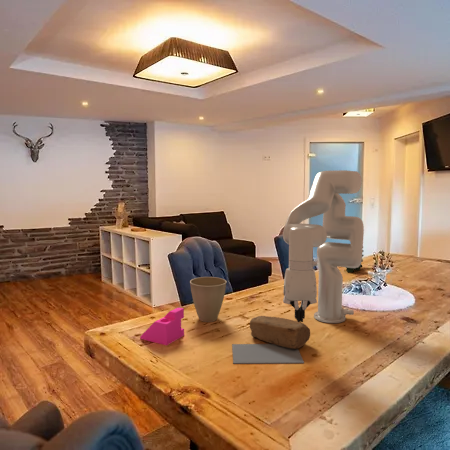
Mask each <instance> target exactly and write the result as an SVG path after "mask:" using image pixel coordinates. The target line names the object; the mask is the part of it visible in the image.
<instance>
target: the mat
mask: <svg viewBox="0 0 450 450" xmlns="http://www.w3.org/2000/svg"><path fill="white" fill-rule="evenodd" d="M231 347H232V364H233V365H239V364H240V365H241V364H244V365H247V364H251V365H252V364H255V365H257V364H259V365H260V364H261V365H262V364H269V365H270V364H272V365H273V364H274V365H275V364H305V360H303V356H302V355H301V353H300V350H299V348H296V349H291V348H287V347H282V346H279V345H275V344H272V343H232V344H231Z"/></svg>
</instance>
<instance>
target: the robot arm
mask: <svg viewBox="0 0 450 450" xmlns="http://www.w3.org/2000/svg"><path fill="white" fill-rule="evenodd" d="M362 182H363V180H362V176H361V174H360V173H359V171H356V170H347V169H346V170H344V169H343V170H341V169H339V170H322V171H320V172H318V173H317V174H316V175H315V176H314V179H313V182H312V184H311V187H310V191H309V194H308V196H307V199H306V200H304V201H303V202H300V204H298V205H297V206H296V207H294V208H293V209H292V210H291V211H290V213H289V214H288V216H287V218H286V222H285V225H284V227H283V232H282V238H283V241H284V242H285V243H286V244H287V245H288V268H286V269H285V273H284V280H283V299H282V301H283V303H284V304H285V305H286V304H287V305H291V306H292V308H294V319H295V321H297V322H301V323H303V322H304V319H305V317H306V312H305V311H306V310H307V308H308V307H309V306H310V305H313V304H317V311H315V312H314V313H313V317H314V319H315V320H317V321H319V322H322V323H326V324H340V323H343V322H345V321H346V315H349V316H350V315H354V313H355V312H354V309H349V308H343V280H344V279H343V274H342V272H341V271H340V269H339V268H346V267H347V268H357V267H359V266H360V265H362V262H361V261H362V260H363V257H362V255H363V253H364V252H363V251H364V250H363V249H364V236H365V235H364V233H365V232H364V231H365V229H364V227H365V226H364V221H363V220H362V218H360V217H358V216H348V215H346V202H345V200H344V199H343V197H342V196H341V195H342V194H345V195H346V194H348V195H350V194H351V195H352V194H353V195H354V194H357V193H358V192H359V191H360V189H361V186H362ZM340 194H341V195H340ZM321 215H322V216H323V217H322V225H320V224H315V223H314V224H311V223H302V222H304V221H306V220H308V219H311V218H315V217H318V216H321ZM327 239H331V240H341V241H342V240H344V241H349V242H350V243H345V242H336V241H335V242H331V241H327ZM314 248H317V249H316V259H317V261H315V260H314ZM315 266H316V267H317V266H318V283H317V277H316V271H315V269H314V267H315ZM347 268H346V269H347ZM317 284H318V286H317ZM317 287H318V288H317ZM317 290H318V291H317ZM317 294H318V295H317ZM317 297H318V298H317ZM299 302H300V305H299Z"/></svg>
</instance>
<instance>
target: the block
mask: <svg viewBox="0 0 450 450" xmlns="http://www.w3.org/2000/svg"><path fill="white" fill-rule="evenodd" d="M249 329H250V330H251V331H250V335H251V337H253V338H257V339H258V340H260V341H263V342H266V343H268V344H275V345H279V346H282V347H287V348H291V349H296V348H298V349H299V348H302V347H303V346H305V345H306V343H307V342H309V340H310V338H311V328H309V326H308V325H306V324H305V323H303V322H298V321H297V320H294V319H289V318H284V317H276V316H266V315H258V316H255V317H253V318H251V319H250V321H249Z"/></svg>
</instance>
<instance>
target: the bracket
mask: <svg viewBox="0 0 450 450" xmlns="http://www.w3.org/2000/svg"><path fill="white" fill-rule="evenodd" d="M184 309H185V308H183V307H176V308H174V309H172V310H169V312H168V313H166V314H165V315H164V316H163V317H161V318H159V319H157V320H155V321H153V322H152V324H151V325H149V327H148V328H147V329H146V330H145V331H144V332H143V333H142V334H141V335H140V340H145V341H148V342H152V343H156V344H159V345H163V346H168V345H170V344H172V343H173V342H176V341H177V340H179V339H181V338H182V337H184V336H185V328H182V319H185V318H184V317H185V310H184Z"/></svg>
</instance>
